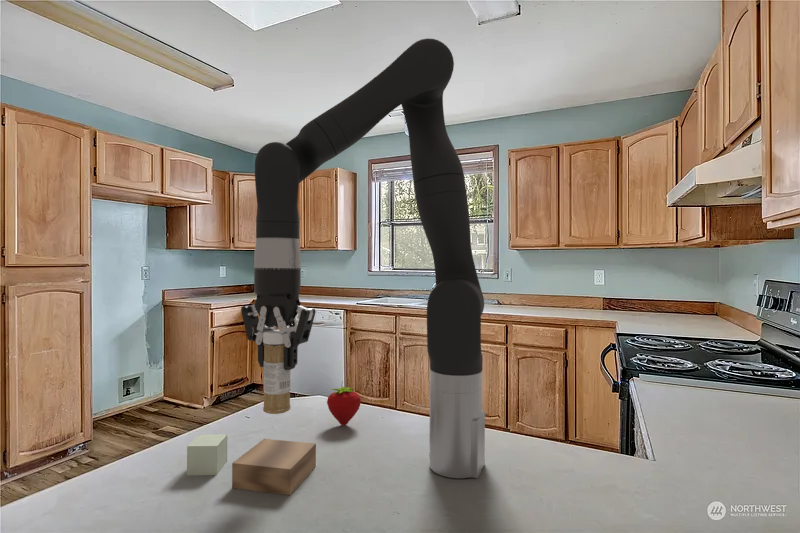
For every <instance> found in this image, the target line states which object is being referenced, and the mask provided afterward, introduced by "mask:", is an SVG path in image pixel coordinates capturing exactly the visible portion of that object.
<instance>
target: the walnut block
mask: <svg viewBox="0 0 800 533" xmlns="http://www.w3.org/2000/svg"><path fill="white" fill-rule="evenodd" d="M316 467H317V443H313V442H304V441H303V442H302V441H293V440H291V441H290V440H284V439H283V440H280V439H273V438H263V439H262V440H261V441H259V442H258V443H257V444H255V445H254V446H253V447H251V448H250V449H249V450H248V451H246V452H245V453H243V454H242V455H241V456H240V457H238V458H237V459H236V460H234V461H233V462H232V463H231V487H232V488H231V489H236V490H244V491H245V490H246V491H253V492H260V493H261V492H262V493H268V494H269V493H270V494H278V495H285V496H286V495H287V496H291V495H292V494H293V492H295V491H296V490H297V488H298V487H299V486H300V485H301V484H302V482H304V481H305V479H306V478H307V477H308V476H309V475H310V474H311V473H312V471H313V470H314V469H315V468H316Z"/></svg>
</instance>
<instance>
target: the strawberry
mask: <svg viewBox="0 0 800 533" xmlns="http://www.w3.org/2000/svg"><path fill="white" fill-rule="evenodd" d="M343 383H344V381H341V385H340V387H341V388H338V387H337V388H332V389H331V390H332V391H334V392H332V393H331V394H329V395H328V397H327V399H326V405H327V407H328V410H329V412H330V413H331V415H332V416H333V417H334V419H336V421H337V422H338V423H339V424H340V425H341V426H347V425H348V424H349V422H350V421H351V420H352V419H353V417H355V415H356V413H357V412H358V411H359V410H360V406H361V404H362V399H361V396H360V394H358V392H356V391H355V388H351V387H345V386H342V385H343Z"/></svg>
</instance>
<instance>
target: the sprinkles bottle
mask: <svg viewBox="0 0 800 533" xmlns="http://www.w3.org/2000/svg"><path fill="white" fill-rule="evenodd" d="M290 336H291V333H290ZM263 343H264V367H263V407H262V411H263V412H264V413H266V414H268V415H278V414H279V415H280V414H285V413H287V412H289V411H290V410H291V384H292V383H291V382H292V380H291V379H292V378H291V377H292V376H291V374H292V373H291V370H292V369H291V370H285V369H284V348H285V344H284V340H283V336H282V335H281V334H280V332H279V328H278V329H275V330H269V331H265V332H264V333H263Z"/></svg>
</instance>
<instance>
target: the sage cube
mask: <svg viewBox="0 0 800 533" xmlns="http://www.w3.org/2000/svg"><path fill="white" fill-rule="evenodd" d="M227 463H228V434H199V435H197V436H196V437H195V438H194V439H193V440H191V442H190V443H189V444H188V445H186V476H217V475H218V474H219V473H220V472H221V470H222V469H223V468H224V466H225V465H226V464H227Z"/></svg>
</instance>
